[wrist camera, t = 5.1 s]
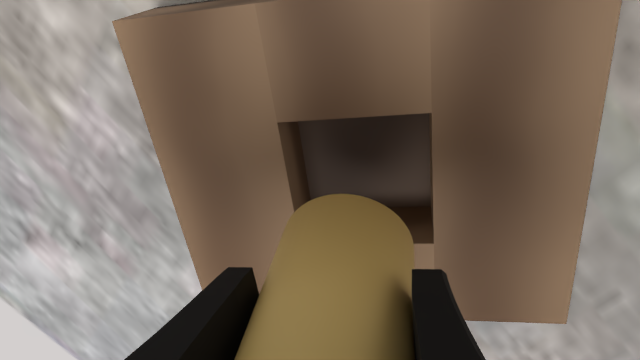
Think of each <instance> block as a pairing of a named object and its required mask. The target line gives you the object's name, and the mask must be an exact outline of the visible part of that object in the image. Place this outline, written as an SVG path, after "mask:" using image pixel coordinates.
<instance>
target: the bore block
mask: <svg viewBox="0 0 640 360" xmlns="http://www.w3.org/2000/svg"><path fill="white" fill-rule="evenodd" d="M621 3H622V0H212V1H204V2H196V3H189V4H181V5H173V6H165V7H158V8H154V9H151V10H148V11H144V12H141V13H138V14H134V15H131V16H128V17H125V18H121V19H118V20H115V21H112V23H113V26H114V29H115V32H116V35H117V38H118V41H119V43H120V46H121V49H122V52H123V55H124V58H125V61H126V64H127V67H128V70H129V73H130V76H131V79H132V82H133V85H134V88H135V91H136V94H137V97H138V100H139V103H140V106H141V109H142V112H143V115H144V118H145V121H146V124H147V127H148V130H149V133H150V136H151V139H152V142H153V145H154V148H155V151H156V154H157V157H158V160H159V162H160V165H161V168H162V171H163V174H164V177H165V180H166V183H167V186H168V189H169V192H170V195H171V198H172V201H173V204H174V207H175V210H176V213H177V216H178V219H179V222H180V225H181V228H182V231H183V234H184V237H185V240H186V243H187V246H188V249H189V252H190V255H191V258H192V261H193V264H194V267H195V270H196V273H197V276H198V279H199V281H200V284H201V287H202V290H203V289H204V288H206V287H207V286H208V285H209V284H210V283H211V282H212V281H213V280H214V279H215V278H216V277H217V276H219V275H220V274H221V273H222V272H223V271H224V270H225V269H226V268H228V267H252V268H253V272H254V276H255V280H256V284H257V288H258V291H259V294H260V292H261V289H262V286H263V284H264V281H265V279H266V276H267V273H268V271H269V268H270V266H271V263H272V260H273V258H274V255H275V253H276V250H277V247H278V245H279V242H280V240H281V237H282V234H283V232H284V229H285V227H286V224H287V222H288V220H289V218H290V217H291V215H292V214H293V213H294V212H295V211H296V210H297V209H298V208H299V207H301V206H302V205H303V204H305V203H307V202H308V201H310V200H313V199H315V198H318V197H321V196H325V195H331V194H353V195H359V196H363V197H366V198H370V199H372V200H375V201H377V202H379V203H381V204H383V205H385V206H386V207H388V208H389V209H391V210H392V211H393V212H394V213H396V214H397V215H398V216H399V217H400V218H401V219H402V221H403V222H404V223H405V225H406V226H407V228H408V229H409V231H410V234H411V236H412V239H413V243H414V269H442V270H443V271H444V272H445V273H446V274H447V278H448V281H449V284H450V287H451V290H452V293H453V295H454V298H455V300H456V303H457V305H458V307H459V309H460V311H461V314H462V316H463V318H464V320H467V321H497V322H526V323H556V324H566V322H567V316H568V310H569V305H570V299H571V293H572V287H573V281H574V275H575V270H576V264H577V258H578V252H579V246H580V241H581V235H582V229H583V223H584V217H585V212H586V206H587V200H588V194H589V188H590V183H591V177H592V171H593V165H594V159H595V154H596V148H597V142H598V136H599V130H600V124H601V119H602V113H603V107H604V101H605V95H606V90H607V84H608V78H609V72H610V66H611V61H612V55H613V49H614V43H615V37H616V32H617V26H618V20H619V14H620V8H621Z"/></svg>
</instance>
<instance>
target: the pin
mask: <svg viewBox="0 0 640 360" xmlns="http://www.w3.org/2000/svg"><path fill="white" fill-rule="evenodd" d="M412 269H414V243H413V239H412V236H411V234H410V231H409V229H408V228H407V226H406V225H405V223H404V222H403V221H402V219H401V218H400V217H399V216H398V215H397V214H396V213H394V212H393V211H392V210H391V209H389V208H388V207H386V206H385V205H383V204H381V203H379V202H377V201H375V200H372V199H370V198H366V197H363V196H359V195H353V194H331V195H325V196H321V197H318V198H315V199H313V200H310V201H308V202H307V203H305V204H303V205H302V206H301V207H299V208H298V209H297V210H296V211H295V212H294V213H293V214H292V215H291V217H290V218H289V220H288V222H287V224H286V227H285V229H284V232H283V234H282V237H281V240H280V242H279V245H278V247H277V250H276V253H275V255H274V258H273V260H272V263H271V266H270V268H269V271H268V273H267V276H266V279H265V281H264V284H263V286H262V289H261V292H260V294H259V297H258V299H257V302H256V305H255V307H254V310H253V312H252V315H251V318H250V320H249V323H248V325H247V328H246V331H245V333H244V336H243V338H242V341H241V344H240V346H239V349H238V351H237V354H236V357H235V359H234V360H416V359H415V347H414V332H413V311H412Z"/></svg>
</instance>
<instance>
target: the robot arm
mask: <svg viewBox="0 0 640 360" xmlns="http://www.w3.org/2000/svg"><path fill="white" fill-rule="evenodd" d="M258 297H259V291H258V288H257V284H256V280H255V276H254V272H253V268H252V267H228V268H226V269H225V270H224V271H223V272H222V273H221V274H220V275H219V276H217V277H216V278H215V279H214V280H213V281H212V282H211V283H210V284H209V285H208V286H207V287H206V288H204V289H203V290H202V291H201V292H200V293H199V294H198V295H197V296H196V297H195V298H194V299H193V300H192V301H191V302H190V303H188V304H187V305H186V306H185V307H184V308H183V309H182V310H181V311H180V312H179V313H178V314H176V315H175V316H174V317H173V318H172V319H171V320H170V321H169V322H168V323H167V324H166V325H164V326H163V327H162V328H161V329H160V330H159V331H158V332H157V333H155V334H154V335H153V336H152V337H151V338H149V339H148V340H147V341H146V342H145V343H144V344H142V345H141V346H140V347H139V348H138V349H136V350H135V351H134V352H133V353H132V354H130V355H129V356H128V357H127V358H126V359H125V360H234V359H235V357H236V354H237V351H238V349H239V346H240V344H241V341H242V338H243V336H244V333H245V331H246V328H247V325H248V323H249V320H250V318H251V315H252V312H253V310H254V307H255V305H256V302H257V299H258ZM412 311H413V332H414V347H415V359H416V360H486V359H485V358H484V356H483V354H482V352H481V350H480V349H479V347H478V345H477V343H476V341H475V339H474V338H473V336H472V334H471V332H470V330H469V328H468V326H467V324H466V322H465V320H464V318H463V316H462V314H461V311H460V309H459V307H458V305H457V303H456V300H455V298H454V295H453V293H452V290H451V287H450V284H449V281H448V278H447V274H446V273H445V272H444V271H443V270H442V269H412Z"/></svg>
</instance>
